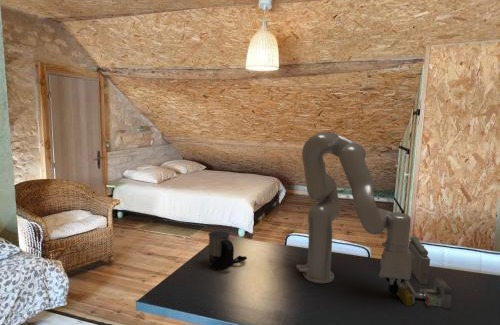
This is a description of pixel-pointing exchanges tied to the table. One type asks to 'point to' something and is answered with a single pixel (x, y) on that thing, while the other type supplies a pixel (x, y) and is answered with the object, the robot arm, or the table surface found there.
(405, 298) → the medication box
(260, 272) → the table surface
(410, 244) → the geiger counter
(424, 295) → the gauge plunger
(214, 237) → the milk frother
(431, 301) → the grey u-shaped bracket
